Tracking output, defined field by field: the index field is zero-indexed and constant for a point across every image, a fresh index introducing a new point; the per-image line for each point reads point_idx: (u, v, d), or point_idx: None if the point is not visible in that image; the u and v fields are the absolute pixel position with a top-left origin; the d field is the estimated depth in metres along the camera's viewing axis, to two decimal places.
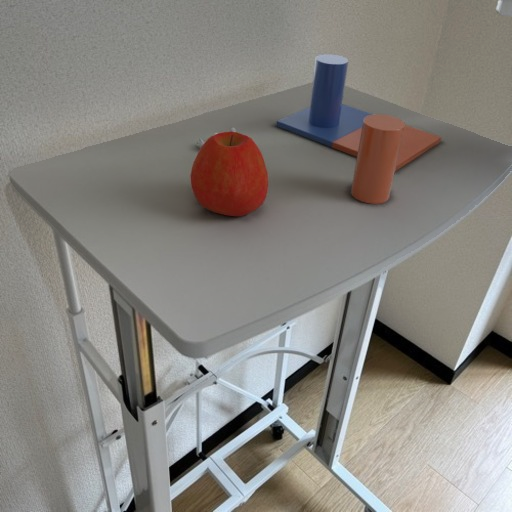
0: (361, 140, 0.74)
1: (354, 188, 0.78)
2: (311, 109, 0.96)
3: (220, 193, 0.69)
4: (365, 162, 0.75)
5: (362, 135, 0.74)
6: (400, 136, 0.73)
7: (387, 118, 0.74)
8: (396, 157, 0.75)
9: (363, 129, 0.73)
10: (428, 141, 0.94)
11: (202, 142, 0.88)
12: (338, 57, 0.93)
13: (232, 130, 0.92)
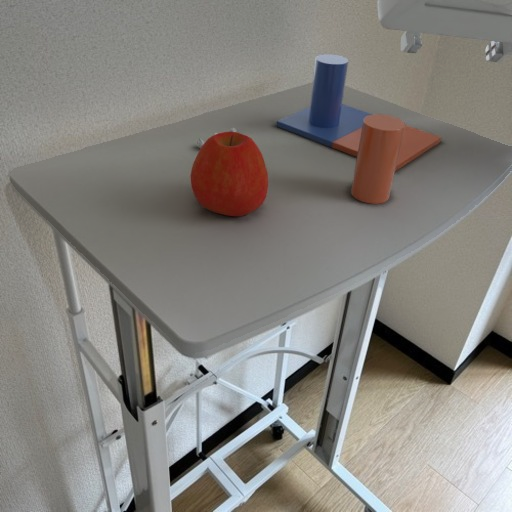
0: (361, 140, 0.74)
1: (354, 188, 0.78)
2: (311, 109, 0.96)
3: (220, 193, 0.69)
4: (365, 162, 0.75)
5: (362, 135, 0.74)
6: (400, 136, 0.73)
7: (387, 118, 0.74)
8: (396, 157, 0.75)
9: (363, 129, 0.73)
10: (428, 141, 0.94)
11: (202, 142, 0.88)
12: (338, 57, 0.93)
13: (232, 130, 0.92)
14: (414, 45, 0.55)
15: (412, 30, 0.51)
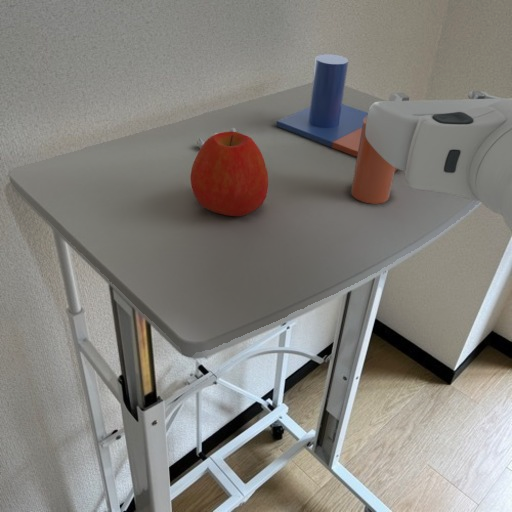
0: (361, 140, 0.74)
1: (354, 188, 0.78)
2: (311, 109, 0.96)
3: (220, 193, 0.69)
4: (365, 162, 0.75)
5: (362, 135, 0.74)
6: None
7: None
8: None
9: (363, 129, 0.73)
10: None
11: (202, 142, 0.88)
12: (338, 57, 0.93)
13: (232, 130, 0.92)
14: None
15: None
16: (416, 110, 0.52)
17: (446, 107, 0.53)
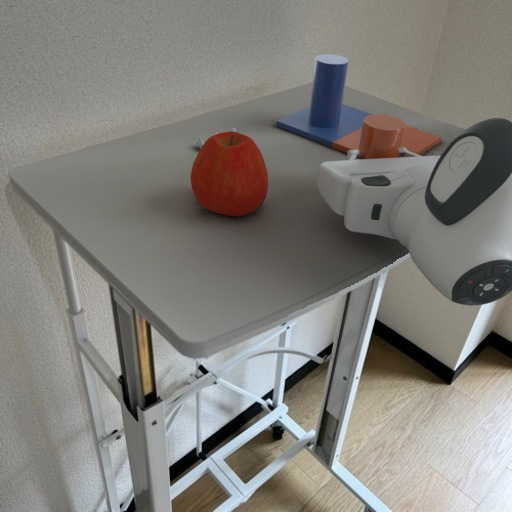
0: (361, 140, 0.74)
1: None
2: (311, 109, 0.96)
3: (220, 194, 0.69)
4: None
5: (362, 135, 0.74)
6: (400, 136, 0.73)
7: (387, 118, 0.74)
8: (397, 157, 0.75)
9: (363, 129, 0.73)
10: (428, 141, 0.94)
11: (202, 142, 0.88)
12: (338, 57, 0.93)
13: (232, 130, 0.91)
14: None
15: None
16: (354, 169, 0.69)
17: (377, 165, 0.70)
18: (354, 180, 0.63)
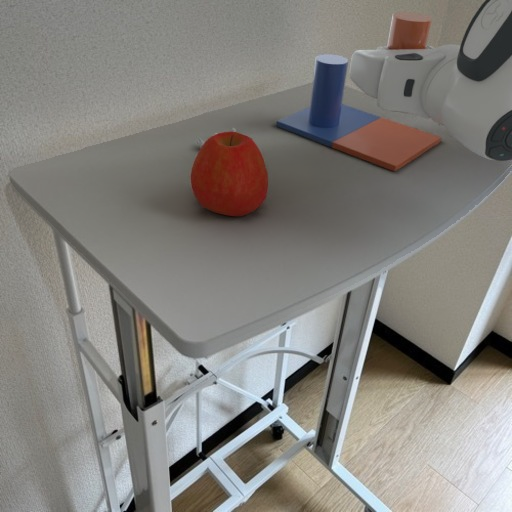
0: (390, 35, 0.78)
1: None
2: (311, 109, 0.96)
3: (220, 193, 0.69)
4: None
5: (391, 30, 0.77)
6: (428, 29, 0.76)
7: (415, 14, 0.78)
8: None
9: (392, 23, 0.77)
10: (428, 141, 0.94)
11: (202, 142, 0.88)
12: (338, 57, 0.93)
13: (232, 130, 0.91)
14: None
15: None
16: (385, 55, 0.72)
17: (407, 53, 0.73)
18: (388, 57, 0.67)
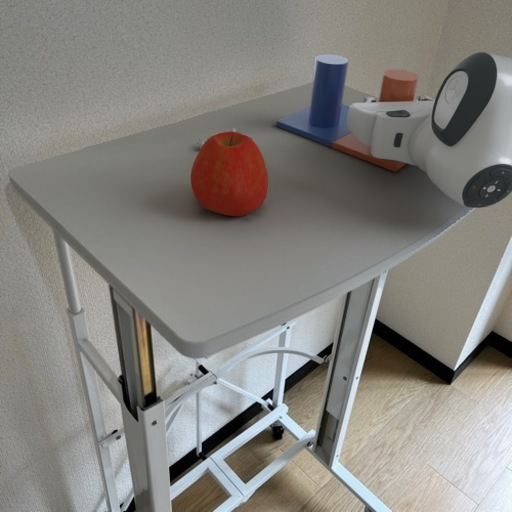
0: (381, 90, 0.88)
1: None
2: (311, 109, 0.96)
3: (220, 193, 0.69)
4: None
5: (382, 86, 0.87)
6: (414, 86, 0.86)
7: (403, 72, 0.88)
8: None
9: (383, 81, 0.87)
10: None
11: (202, 142, 0.88)
12: (338, 57, 0.93)
13: (233, 131, 0.91)
14: None
15: None
16: (378, 108, 0.82)
17: (397, 106, 0.83)
18: (380, 113, 0.77)
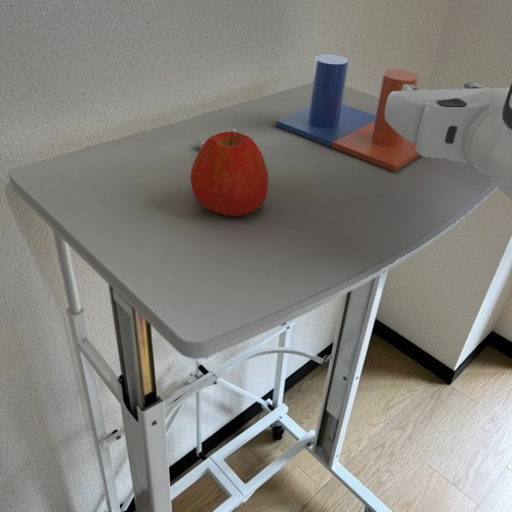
0: (381, 90, 0.88)
1: (374, 133, 0.92)
2: (311, 109, 0.96)
3: (220, 193, 0.69)
4: (384, 109, 0.88)
5: (382, 86, 0.87)
6: None
7: (403, 72, 0.88)
8: None
9: (383, 81, 0.87)
10: None
11: (202, 142, 0.88)
12: (338, 57, 0.93)
13: (233, 131, 0.91)
14: None
15: None
16: (423, 97, 0.69)
17: (446, 94, 0.70)
18: (429, 102, 0.64)
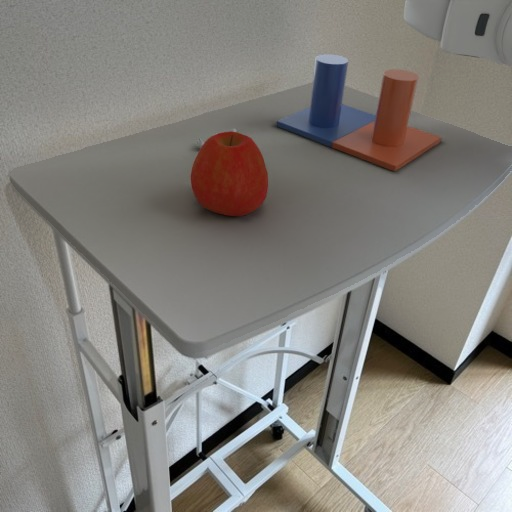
0: (381, 90, 0.88)
1: (374, 133, 0.92)
2: (311, 109, 0.96)
3: (220, 193, 0.69)
4: (384, 109, 0.88)
5: (382, 86, 0.87)
6: (414, 86, 0.86)
7: (403, 72, 0.88)
8: (411, 105, 0.88)
9: (383, 81, 0.87)
10: (428, 141, 0.94)
11: (202, 142, 0.88)
12: (338, 57, 0.93)
13: (233, 131, 0.91)
14: None
15: None
16: None
17: None
18: None
